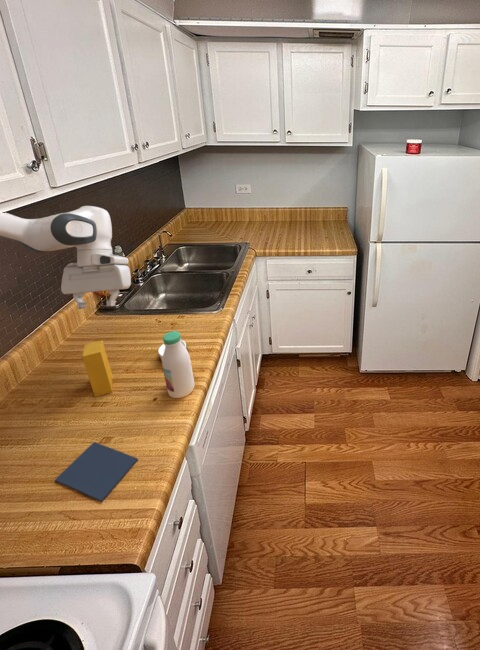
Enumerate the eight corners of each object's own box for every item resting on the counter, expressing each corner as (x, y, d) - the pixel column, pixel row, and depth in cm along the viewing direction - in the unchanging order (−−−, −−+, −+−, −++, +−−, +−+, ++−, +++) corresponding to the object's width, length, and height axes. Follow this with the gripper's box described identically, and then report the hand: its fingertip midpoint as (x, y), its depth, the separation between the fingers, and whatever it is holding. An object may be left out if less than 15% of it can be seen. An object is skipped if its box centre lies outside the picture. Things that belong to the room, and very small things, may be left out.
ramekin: (191, 359, 114) (189, 349, 112) (164, 370, 109) (161, 359, 107) (183, 346, 121) (181, 336, 119) (157, 355, 116) (155, 345, 114)
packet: (96, 383, 104) (84, 344, 98) (113, 378, 105) (102, 340, 100) (94, 397, 99) (82, 356, 93) (112, 391, 100) (100, 351, 95)
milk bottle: (195, 378, 106) (187, 325, 99) (193, 396, 99) (184, 341, 92) (170, 382, 104) (159, 329, 97) (166, 401, 97) (154, 345, 90)
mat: (55, 481, 76) (54, 479, 76) (94, 443, 85) (94, 441, 85) (101, 502, 72) (101, 500, 72) (138, 460, 81) (137, 458, 80)
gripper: (54, 263, 97) (55, 311, 96) (118, 257, 95) (120, 305, 93) (73, 264, 103) (73, 308, 102) (133, 258, 101) (134, 303, 100)
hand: (96, 307), depth 98 cm, fingers open, 8 cm apart
